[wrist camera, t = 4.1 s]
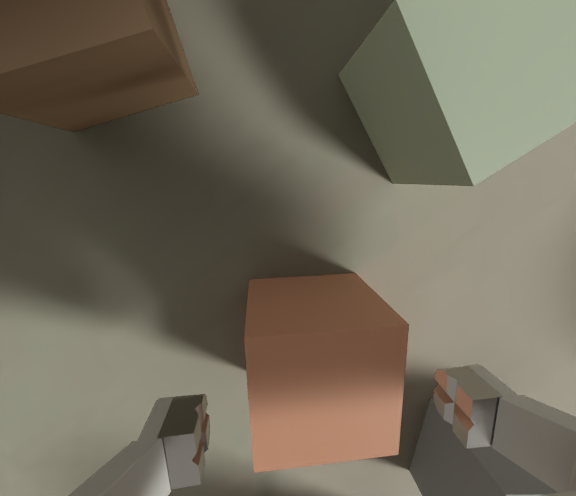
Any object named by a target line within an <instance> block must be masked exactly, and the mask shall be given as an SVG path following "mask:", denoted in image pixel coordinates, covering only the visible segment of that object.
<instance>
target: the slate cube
mask: <svg viewBox="0 0 576 496" xmlns="http://www.w3.org/2000/svg"><path fill="white" fill-rule="evenodd" d="M409 471H410V473H411V474H412V476H413V478H414V480H415V482H416V484H417V486H418V488H419V490H420V492H421V494H422V496H541V495H547V494H554V493H558V492H557V491H555V490H554V489H552V488H551V487H549V486H548V485H546V484H545V483H543V482H542V481H540V480H539V479H537V478H536V477H534V476H533V475H532V474H530V473H529V472H527V471H526V470H524V469H523V468H521V467H520V466H518V465H517V464H515V463H514V462H512V461H511V460H509V459H508V458H507V457H505V456H504V455H502V454H501V453H499V452H498V451H496V450H495V449H493V448H492V446H488V447H478V448H468V449H466V447H465V446H464V445H463V444H462V442H461V441H460V440H459V439H458V437H457V436H456V435H455V434H454V432H453V431H452V424H450V423H449V422H447V421H445V420H443V418H442V417H441V416H440V414H439V413H438V411H437V409H436V407H435V403H434V399H430V401H429V405H428V408H427V411H426V415H425V418H424V422H423V425H422V428H421V432H420V435H419V439H418V442H417V445H416V449H415V452H414V456H413V459H412V462H411V466H410V469H409Z"/></svg>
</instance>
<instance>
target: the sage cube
mask: <svg viewBox="0 0 576 496" xmlns="http://www.w3.org/2000/svg"><path fill="white" fill-rule="evenodd" d="M338 75H339V77H340V79H341V81H342V83H343V85H344V87H345V89H346V91H347V93H348V96H349V98H350V100H351V102H352V104H353V106H354V108H355V110H356V112H357V114H358V116H359V118H360V120H361V122H362V124H363V126H364V128H365V130H366V132H367V134H368V136H369V138H370V140H371V142H372V144H373V146H374V148H375V150H376V152H377V154H378V156H379V158H380V160H381V162H382V164H383V166H384V168H385V170H386V172H387V174H388V176H389V178H390V180H391V182H392V184H425V185H457V186H474V185H476V184H478V183H479V182H481V181H482V180H484V179H486V178H487V177H489V176H491V175H492V174H494V173H495V172H497V171H499V170H500V169H502V168H503V167H505V166H507V165H508V164H510V163H511V162H513V161H515V160H516V159H518V158H519V157H521V156H523V155H524V154H526V153H527V152H529V151H531V150H532V149H534V148H536V147H537V146H539V145H540V144H542V143H544V142H545V141H547V140H548V139H550V138H552V137H553V136H555V135H556V134H558V133H560V132H561V131H563V130H564V129H566V128H568V127H569V126H571V125H572V124H574V123H576V0H394V1H393V3H392V4H391V5H390V7H389V8H388V9H387V11H386V12H385V13H384V15H383V16H382V17H381V19H380V20H379V21H378V23H377V24H376V25H375V27H374V28H373V29H372V31H371V32H370V33H369V35H368V36H367V37H366V39H365V40H364V41H363V43H362V44H361V45H360V46H359V48H358V49H357V50H356V52H355V53H354V54H353V56H352V57H351V58H350V60H349V61H348V62H347V64H346V65H345V66H344V68H343V69H342V70H341V72H340V73H339V74H338Z"/></svg>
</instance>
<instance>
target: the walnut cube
mask: <svg viewBox="0 0 576 496" xmlns="http://www.w3.org/2000/svg"><path fill="white" fill-rule="evenodd" d="M198 94H199V93H198V91H197V88H196V85H195V82H194V79H193V76H192V73H191V70H190V67H189V65H188V62H187V59H186V56H185V53H184V50H183V47H182V44H181V41H180V39H179V36H178V33H177V30H176V27H175V24H174V21H173V18H172V16H171V13H170V10H169V7H168V4H167V1H166V0H0V113H1V114H5V115H9V116H13V117H17V118H21V119H25V120H28V121H32V122H36V123H40V124H44V125H48V126H52V127H56V128H60V129H64V130H68V131H71V132H76V131H79V130H82V129H85V128H89V127H92V126H95V125H99V124H102V123H105V122H109V121H112V120H115V119H119V118H122V117H125V116H128V115H132V114H135V113H138V112H142V111H145V110H148V109H152V108H155V107H158V106H162V105H165V104H168V103H172V102H175V101H178V100H181V99H185V98H188V97H191V96H195V95H198Z"/></svg>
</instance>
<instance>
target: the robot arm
mask: <svg viewBox="0 0 576 496" xmlns="http://www.w3.org/2000/svg"><path fill="white" fill-rule="evenodd" d="M435 380H436V382H437V383H438V385H437V386H436V388H435V389H434V394H433V399H434V403H435V407H436V409H437V411H438V413H439V414H440V416H441V417H442V418H443V420H445V421H447V422H449V423H450V424H452V431H453V432H454V434H455V435H456V436H457V437H458V439H459V440H460V441H461V442H462V444H463V445H464V446H465V447H466V449H468V448H478V447H488V446H492V448H493V449H495V450H496V451H498V452H499V453H501V454H502V455H504V456H505V457H507V458H508V459H509V460H511V461H512V462H514V463H515V464H517V465H518V466H520V467H521V468H523V469H524V470H526V471H527V472H529V473H530V474H532V475H533V476H534V477H536V478H537V479H539V480H540V481H542V482H543V483H545V484H546V485H548V486H549V487H551V488H552V489H554V490H555V491H557V492H558V493H554V494H547V495H541V496H576V417H575V416H573V415H570V414H568V413H565V412H563V411H561V410H558V409H556V408H553V407H551V406H548V405H546V404H543V403H541V402H538V401H536V400H534V399H531V398H529V397H526V396H524V395H519V396H518V395H517V394H516V393H515V392H514V391H512V390H511V389H510V388H509V387H507V386H506V385H505V384H504V383H502V382H501V381H500V380H499V379H498V378H496V377H495V376H494V375H493V374H491V373H490V372H489V371H488V370H486V369H485V368H484V367H483V366H481V365H478V364H475V365H467V366H463V367H454V368H445V369H437V371H436V373H435ZM207 405H208V403H207V396H206V395H205V394H199V395H187V396H175V397H166V398H159V399H158V400H157V401H156V402H155V404H154V407H153V409H152V411H151V413H150V415H149V417H148V419H147V421H146V424H145V426H144V428H143V430H142V432H141V434H140V436H139V438H138V441H133V442H131V443H130V444H129V445H128V446H127V447H125V448H124V449H123V450H122V451H121V452H119V453H118V454H117V455H116V456H115V457H114V458H112V459H111V460H110V461H109V462H108V463H106V464H105V465H104V466H103V467H102V468H101V469H99V470H98V471H97V472H96V473H95V474H93V475H92V476H91V477H90V478H89V479H88V480H86V481H85V482H84V483H83V484H82V485H80V486H79V487H78V488H77V489H76V490H75V491H73V492H72V493H71V494H70V495H69V496H168V495H169V494H170V492H171V489H177V488H183V487H189V486H195V485H201V482H202V476H203V471H204V466H205V457H204V453H205V451H206V450H207V449H208V445H209V437H210V419H209V415H208V414H207V413H206V410H207Z"/></svg>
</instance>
